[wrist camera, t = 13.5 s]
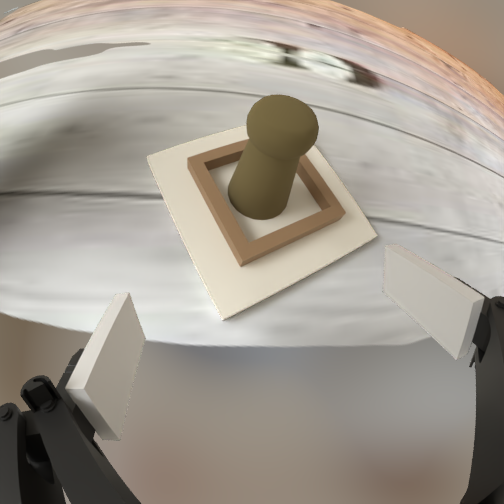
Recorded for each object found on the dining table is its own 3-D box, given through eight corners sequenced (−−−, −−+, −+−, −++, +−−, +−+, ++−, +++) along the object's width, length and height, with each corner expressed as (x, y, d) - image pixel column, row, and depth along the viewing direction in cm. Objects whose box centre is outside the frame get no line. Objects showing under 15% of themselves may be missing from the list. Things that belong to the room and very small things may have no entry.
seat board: (148, 163, 28) (143, 136, 25) (287, 121, 34) (296, 97, 30) (222, 320, 24) (226, 313, 20) (371, 239, 30) (392, 223, 26)
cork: (233, 162, 29) (251, 76, 19) (290, 175, 29) (329, 96, 19) (221, 212, 26) (236, 127, 16) (285, 226, 27) (331, 151, 17)
